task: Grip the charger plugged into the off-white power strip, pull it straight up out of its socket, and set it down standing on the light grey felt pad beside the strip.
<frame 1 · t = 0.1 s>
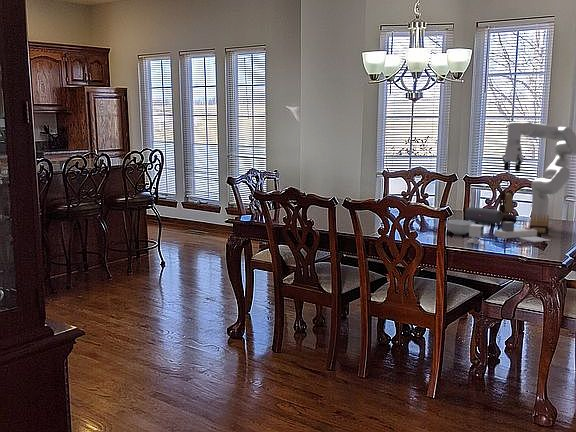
hand: (511, 170, 364), 37 cm above the table, tool pointing down, fingers open, 9 cm apart
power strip: (515, 236, 349), on the table
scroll: (505, 220, 409), on the table
charger: (507, 233, 347), point 2 cm above the table, touching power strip
ammunition clip: (538, 234, 357), on the table
felt pad: (534, 239, 338), on the table
bluetooth speaker: (483, 223, 394), on the table
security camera: (474, 243, 328), on the table
cereal bowl: (459, 233, 357), on the table
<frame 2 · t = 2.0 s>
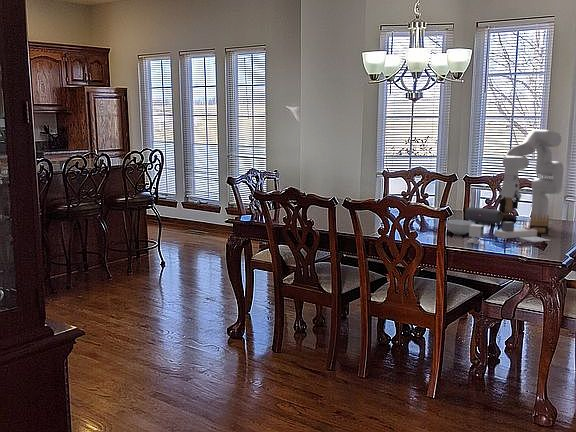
hand: (508, 207, 344), 17 cm above the table, tool pointing down, fingers open, 9 cm apart
nothing on the table moved.
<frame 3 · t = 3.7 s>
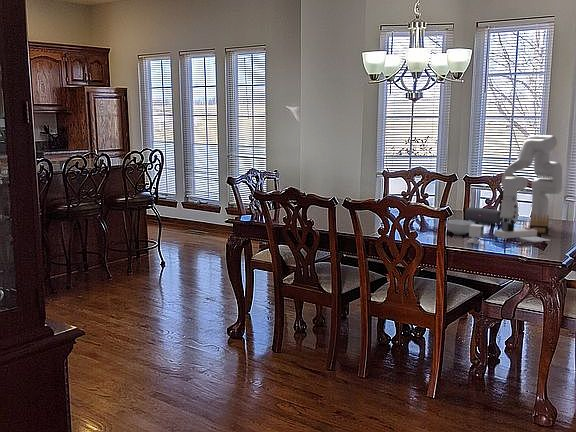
hand: (507, 229, 347), 4 cm above the table, tool pointing down, fingers closed on charger, 3 cm apart
charger: (507, 233, 347), point 2 cm above the table, touching gripper, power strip
everything else where it was.
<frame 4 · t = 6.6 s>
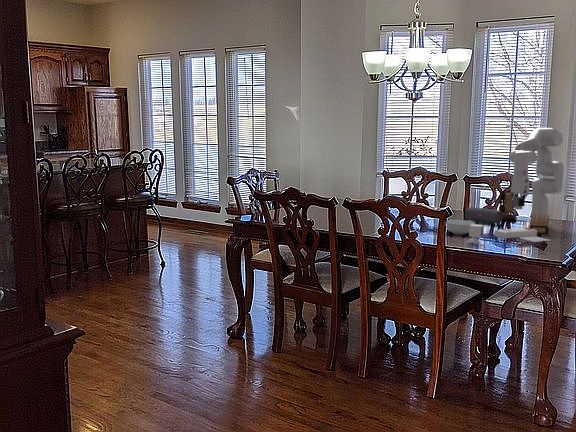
hand: (518, 204, 341), 19 cm above the table, tool pointing down, fingers closed on charger, 4 cm apart
charger: (518, 209, 342), point 17 cm above the table, touching gripper
everything else where it was.
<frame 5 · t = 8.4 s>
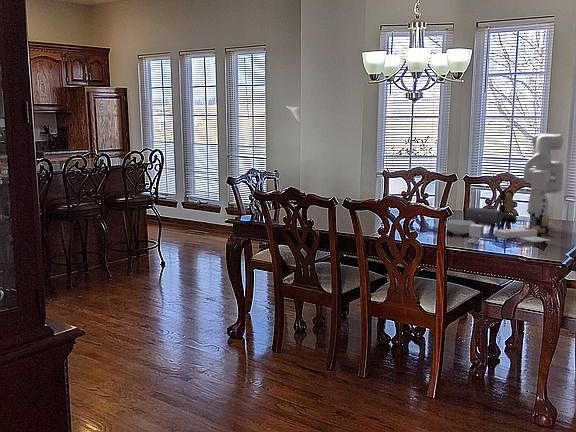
hand: (535, 224, 337), 9 cm above the table, tool pointing down, fingers closed on charger, 4 cm apart
charger: (535, 228, 337), point 6 cm above the table, touching gripper
everything else where it was.
when the fingers open (4 cm above the table, at t = 9.7 s): charger drops 1 cm, resting on felt pad.
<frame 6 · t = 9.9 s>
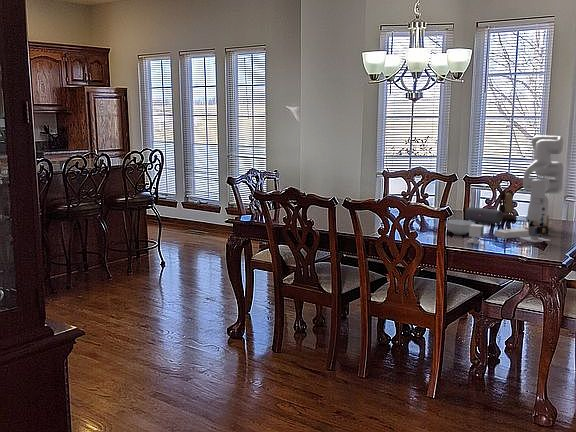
hand: (535, 232, 337), 4 cm above the table, tool pointing down, fingers open, 5 cm apart
charger: (534, 238, 338), point 1 cm above the table, touching felt pad
everything else where it was.
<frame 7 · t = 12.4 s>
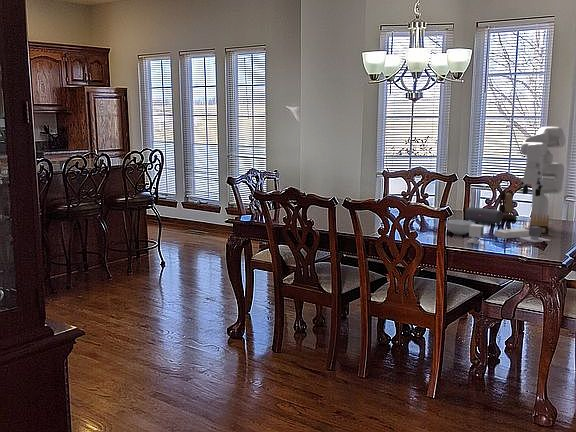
hand: (531, 194, 346), 24 cm above the table, tool pointing down, fingers open, 9 cm apart
nothing on the table moved.
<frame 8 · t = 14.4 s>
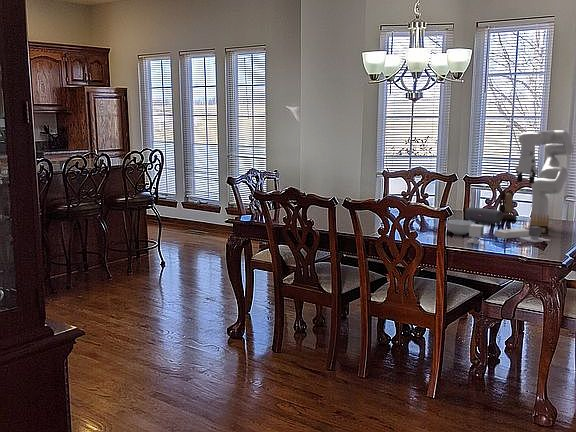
hand: (525, 182, 356), 30 cm above the table, tool pointing down, fingers open, 9 cm apart
nothing on the table moved.
at the end: charger inside the target area on the felt pad (0.1 cm from its centre), point 0.6 cm above the felt pad's base; charger touching felt pad; charger tilted 0° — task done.
